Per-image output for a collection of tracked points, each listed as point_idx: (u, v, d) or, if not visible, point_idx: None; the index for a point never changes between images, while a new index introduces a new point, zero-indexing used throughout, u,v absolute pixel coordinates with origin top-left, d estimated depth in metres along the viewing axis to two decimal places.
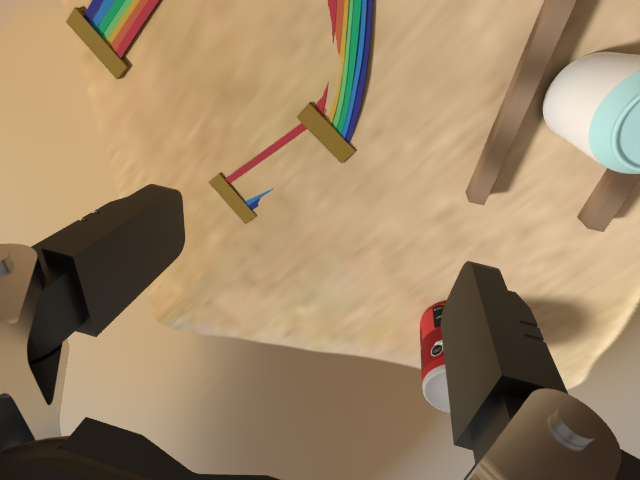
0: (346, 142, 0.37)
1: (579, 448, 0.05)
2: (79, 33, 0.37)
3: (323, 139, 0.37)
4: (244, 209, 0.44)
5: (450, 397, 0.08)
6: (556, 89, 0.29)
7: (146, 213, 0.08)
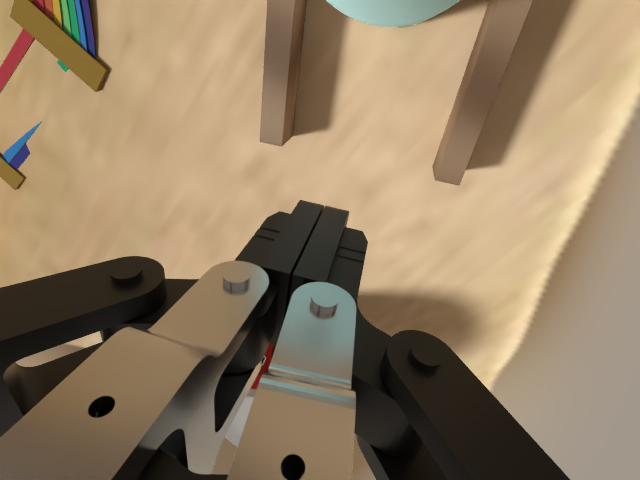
0: (90, 56, 0.25)
1: (317, 314, 0.06)
2: None
3: (58, 52, 0.25)
4: (5, 168, 0.32)
5: None
6: None
7: (313, 229, 0.09)
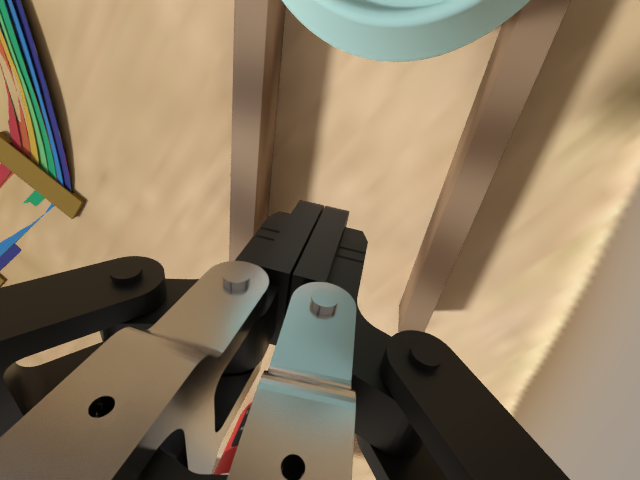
0: (66, 190, 0.25)
1: (317, 314, 0.06)
2: None
3: (35, 185, 0.26)
4: None
5: None
6: None
7: (313, 229, 0.09)
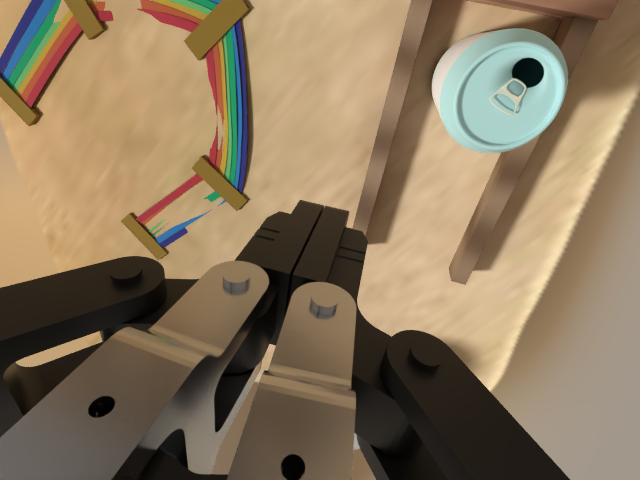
0: (238, 192, 0.40)
1: (317, 314, 0.06)
2: None
3: (217, 189, 0.40)
4: (155, 246, 0.47)
5: None
6: (437, 68, 0.28)
7: (313, 229, 0.09)
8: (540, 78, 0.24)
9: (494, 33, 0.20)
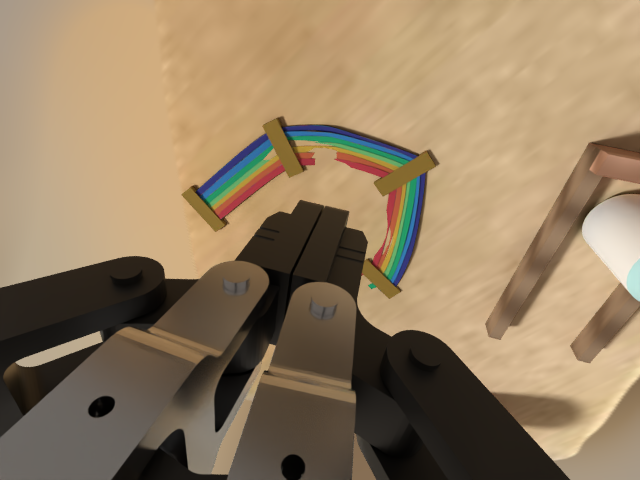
0: (394, 286, 0.49)
1: (317, 314, 0.06)
2: (190, 202, 0.48)
3: (376, 283, 0.49)
4: None
5: None
6: (596, 221, 0.36)
7: (312, 229, 0.09)
8: None
9: None
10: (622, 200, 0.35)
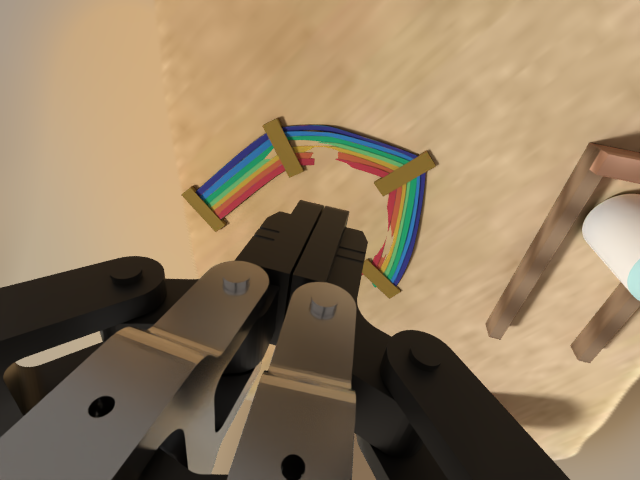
0: (394, 285, 0.49)
1: (317, 314, 0.06)
2: (190, 202, 0.48)
3: (376, 282, 0.49)
4: None
5: None
6: (596, 220, 0.36)
7: (312, 229, 0.09)
8: None
9: None
10: (622, 200, 0.35)
